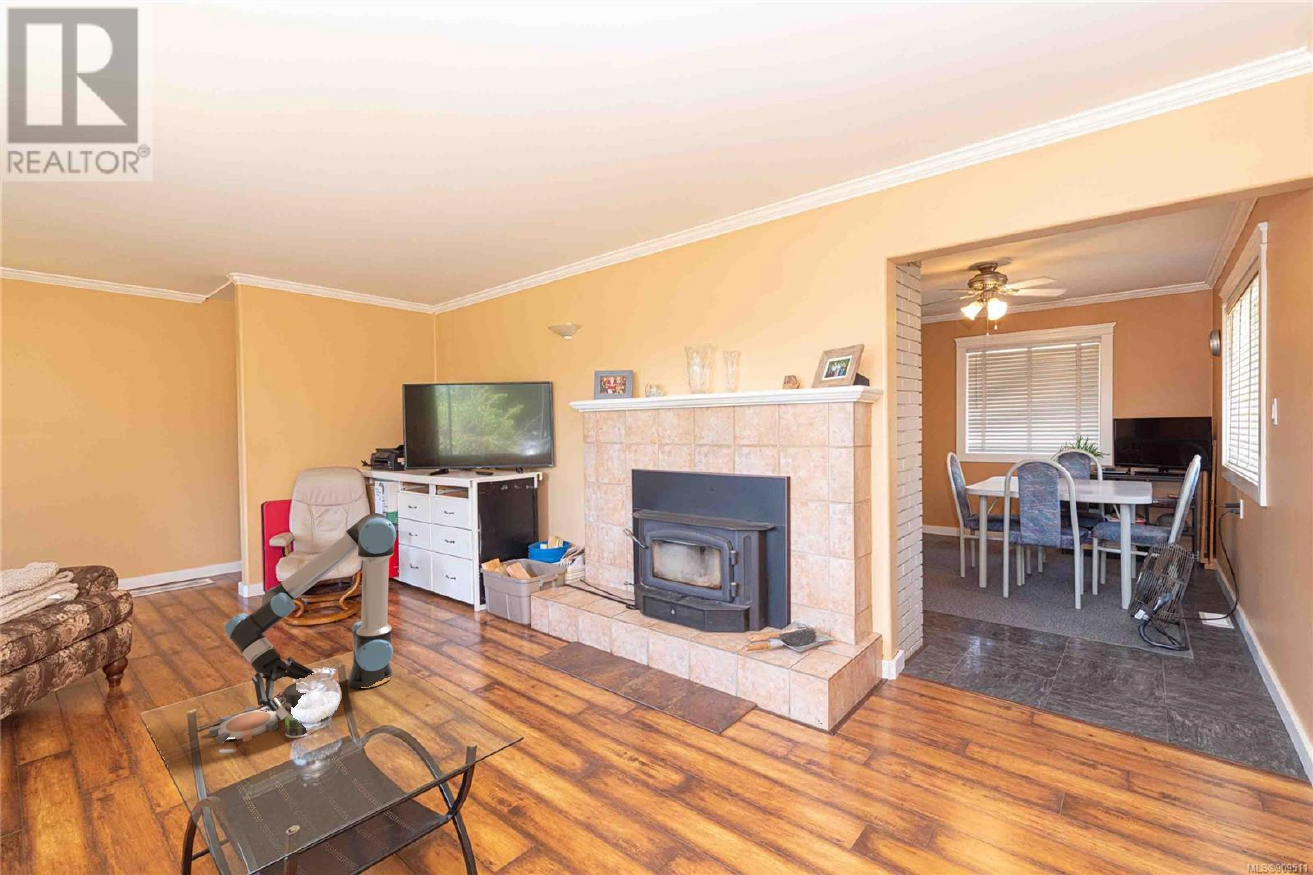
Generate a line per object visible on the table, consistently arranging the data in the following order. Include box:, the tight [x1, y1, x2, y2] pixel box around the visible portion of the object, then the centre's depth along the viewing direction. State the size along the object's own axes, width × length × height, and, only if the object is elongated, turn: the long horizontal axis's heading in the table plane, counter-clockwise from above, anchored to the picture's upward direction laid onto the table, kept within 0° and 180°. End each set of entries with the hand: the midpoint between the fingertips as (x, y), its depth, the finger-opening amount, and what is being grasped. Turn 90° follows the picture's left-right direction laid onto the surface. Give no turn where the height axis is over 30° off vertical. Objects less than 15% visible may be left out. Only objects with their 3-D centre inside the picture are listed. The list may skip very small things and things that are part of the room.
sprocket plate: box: [208, 705, 285, 744], centre depth 193 cm, size 20×20×2 cm
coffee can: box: [283, 682, 308, 739], centre depth 191 cm, size 10×10×14 cm
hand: (302, 706), depth 191 cm, fingers open, 13 cm apart
